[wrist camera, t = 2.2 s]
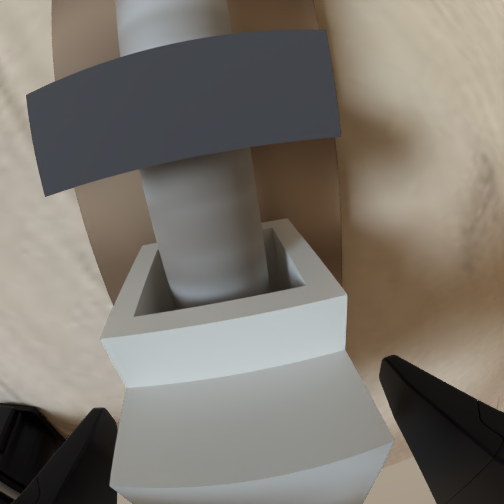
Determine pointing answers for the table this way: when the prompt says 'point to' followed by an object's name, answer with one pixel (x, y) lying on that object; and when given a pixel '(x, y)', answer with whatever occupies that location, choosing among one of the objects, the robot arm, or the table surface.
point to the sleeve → (242, 389)
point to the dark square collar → (183, 104)
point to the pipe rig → (199, 162)
